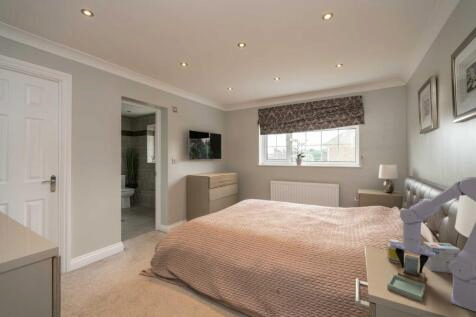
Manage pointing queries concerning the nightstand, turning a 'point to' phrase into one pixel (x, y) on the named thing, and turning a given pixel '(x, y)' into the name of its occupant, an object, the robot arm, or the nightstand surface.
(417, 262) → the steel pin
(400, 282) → the sage tray
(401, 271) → the oak holder
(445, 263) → the light bulb box
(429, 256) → the robot arm
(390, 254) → the supplement bottle
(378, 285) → the nightstand surface
